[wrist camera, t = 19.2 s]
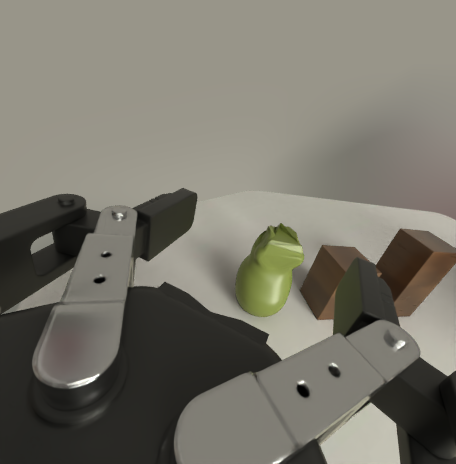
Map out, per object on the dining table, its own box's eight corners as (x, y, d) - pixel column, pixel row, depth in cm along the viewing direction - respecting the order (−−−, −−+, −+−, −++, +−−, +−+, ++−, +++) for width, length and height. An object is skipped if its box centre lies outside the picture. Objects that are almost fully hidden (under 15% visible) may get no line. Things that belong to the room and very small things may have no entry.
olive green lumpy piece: (273, 291, 30) (303, 219, 25) (284, 329, 25) (324, 251, 20) (227, 286, 29) (249, 211, 24) (231, 325, 24) (259, 242, 19)
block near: (317, 320, 28) (345, 272, 24) (299, 290, 31) (322, 244, 28) (350, 318, 29) (382, 273, 25) (329, 290, 32) (354, 246, 29)
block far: (382, 317, 30) (434, 251, 25) (358, 290, 34) (399, 228, 29) (409, 316, 31) (464, 253, 26) (384, 290, 35) (428, 230, 30)
